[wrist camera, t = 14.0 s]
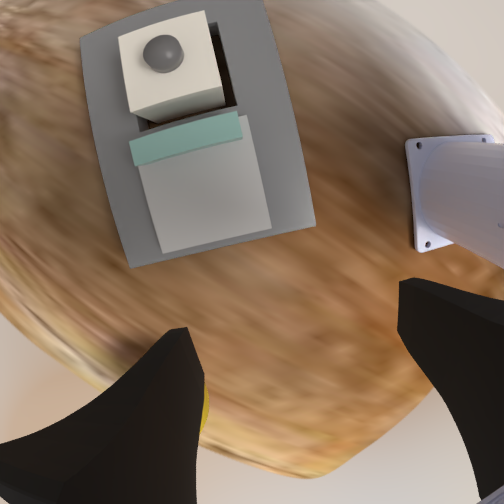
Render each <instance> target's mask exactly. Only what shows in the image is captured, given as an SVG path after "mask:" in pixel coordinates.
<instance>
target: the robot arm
mask: <svg viewBox="0 0 504 504" xmlns="http://www.w3.org/2000/svg"><path fill="white" fill-rule="evenodd" d="M482 140H483V143H482ZM417 142H418V143H419V149H418V148H417V146H416V144H417ZM405 149H406V155H407V162H408V169H409V177H410V186H411V196H412V207H413V221H414V240H415V249H416V250H417V251H418V252H420V253H422V252H426V251H429V250H433V249H436V248H439V247H443V246H446V245H449V244H453V243H455V244H457V245H459V246H461V247H463V248H465V249H467V250H469V251H471V252H473V253H475V254H477V255H479V256H481V257H483V258H485V259H486V260H488V261H490V262H492V263H494V264H496V265H497V266H499V267H501V268H503V269H504V144H497V143H494V138H493V136H492V135H490V134H481V135H456V136H439V137H426V138H414V139H408V140H407V141H406V143H405ZM427 241H428V244H427V246H425V244H426V242H427ZM397 331H398V333H399V335H400V337H401V339H402V341H403V343H404V345H405V346H406V348H407V350H408V352H409V353H410V355H411V356H412V357H413V359H414V360H415V361H416V363H417V364H418V365H419V367H420V368H421V369H422V371H423V372H424V373H425V375H426V376H427V377H428V379H429V380H430V381H431V383H432V384H433V386H434V387H435V388H436V390H437V391H438V392H439V394H440V395H441V397H442V398H443V400H444V402H445V403H446V405H447V407H448V409H449V411H450V413H451V415H452V417H453V419H454V421H455V423H456V425H457V427H458V430H459V432H460V434H461V436H462V439H463V441H464V443H465V446H466V449H467V452H468V454H469V458H470V461H471V464H472V467H473V471H474V474H475V478H476V482H477V487H478V492H479V497H480V498H481V501H480V502H479V503H477V504H504V301H503V300H498V299H493V298H489V297H485V296H481V295H477V294H473V293H470V292H466V291H463V290H459V289H456V288H453V287H449V286H446V285H443V284H439V283H436V282H432V281H429V280H425V279H420V278H410V279H407V280H403V281H399V307H398V326H397ZM204 388H205V387H204V372H203V369H202V366H201V364H200V361H199V358H198V356H197V353H196V350H195V348H194V345H193V342H192V339H191V337H190V334H189V331H188V328H187V327H184V328H178V329H171V330H169V331H168V332H166V333H165V334H164V335H163V336H162V337H161V338H160V339H159V340H158V341H157V342H156V343H155V344H154V345H153V346H152V347H151V348H150V349H149V351H148V352H147V353H146V354H145V355H144V356H143V357H142V358H141V359H140V360H139V361H138V362H137V363H136V364H135V365H134V366H133V367H131V368H130V369H129V370H128V371H127V372H126V373H125V374H124V375H123V376H122V377H121V378H120V379H118V380H117V381H116V382H115V383H114V384H113V385H112V386H111V387H109V388H108V389H107V390H106V391H104V392H103V393H102V394H100V395H99V396H98V397H97V398H95V399H94V400H92V401H91V402H90V403H88V404H87V405H85V406H83V407H82V408H80V409H79V410H77V411H75V412H74V413H72V414H70V415H69V416H67V417H66V418H64V419H62V420H60V421H58V422H56V423H54V424H52V425H50V426H49V427H46V428H44V429H42V430H39V431H37V432H35V433H32V434H30V435H27V436H24V437H21V438H18V439H15V440H12V441H9V442H6V443H2V444H0V497H2V498H3V499H4V500H5V501H6V502H8V503H9V504H197V498H196V458H197V448H198V441H199V434H200V427H201V420H202V413H203V406H204Z"/></svg>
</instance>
